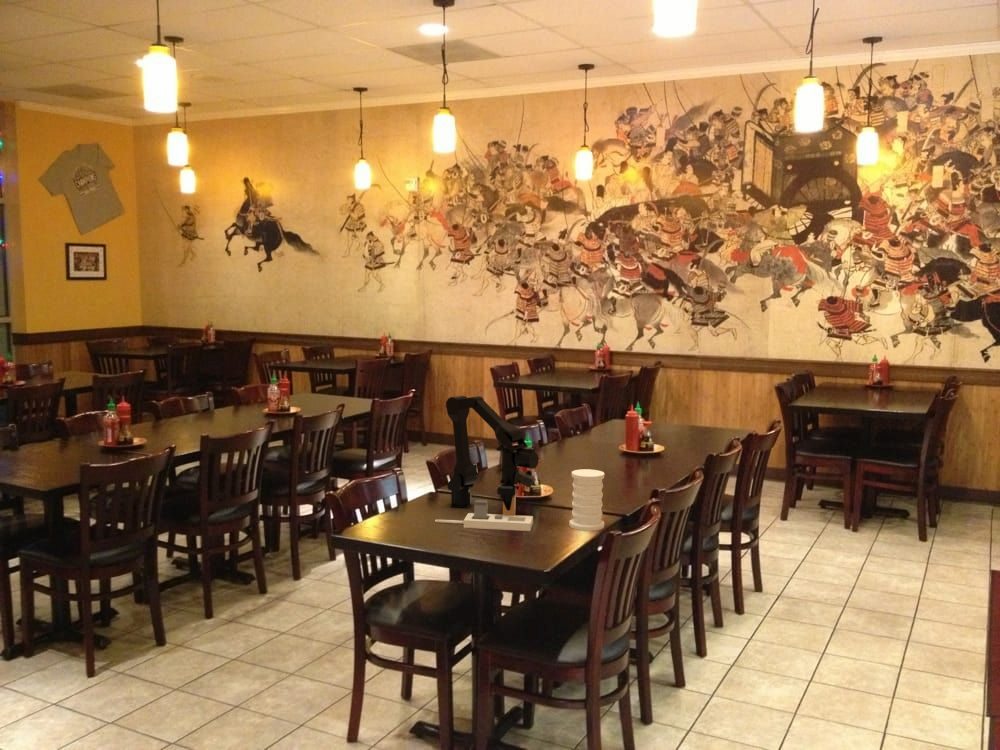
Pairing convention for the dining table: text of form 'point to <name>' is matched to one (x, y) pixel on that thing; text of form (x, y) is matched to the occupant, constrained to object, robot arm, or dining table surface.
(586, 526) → the decorative container
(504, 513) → the plug
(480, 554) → the dining table surface
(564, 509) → the dining table surface
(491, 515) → the power strip
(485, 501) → the twin plug
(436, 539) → the dining table surface
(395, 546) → the dining table surface
